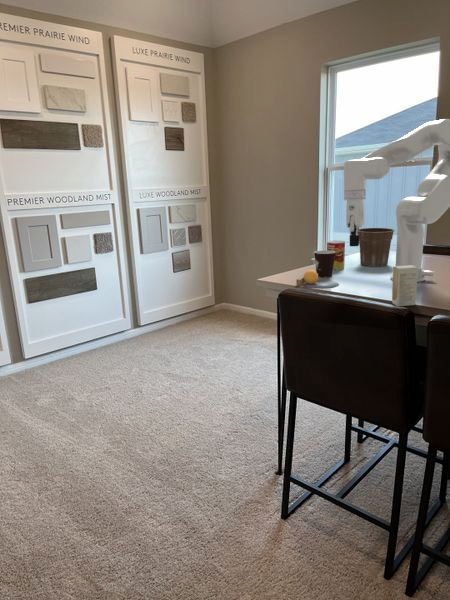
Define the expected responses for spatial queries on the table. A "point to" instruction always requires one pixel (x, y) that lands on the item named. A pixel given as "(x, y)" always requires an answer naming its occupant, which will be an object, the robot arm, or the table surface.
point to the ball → (310, 276)
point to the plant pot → (375, 246)
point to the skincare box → (404, 285)
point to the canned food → (337, 253)
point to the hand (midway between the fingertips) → (354, 245)
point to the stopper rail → (300, 281)
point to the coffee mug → (324, 263)
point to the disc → (323, 284)
